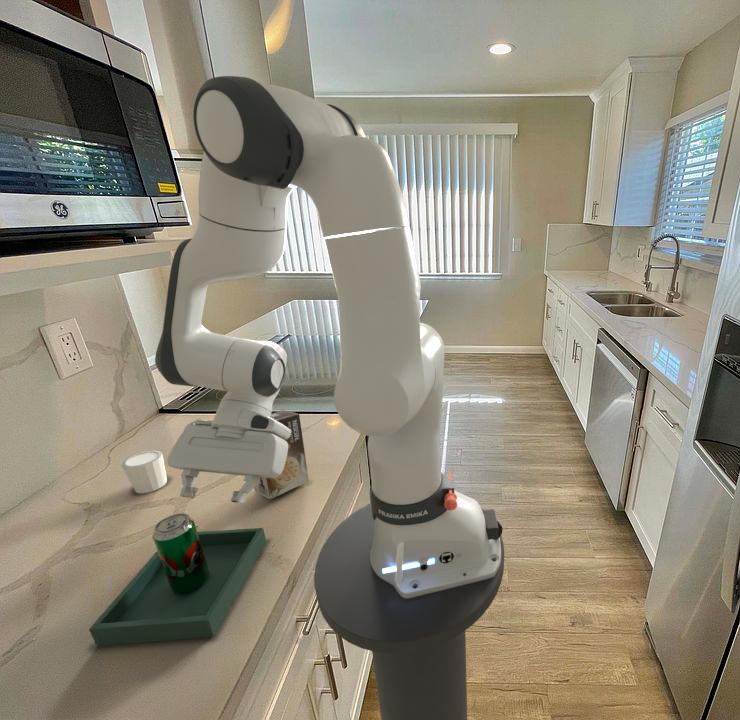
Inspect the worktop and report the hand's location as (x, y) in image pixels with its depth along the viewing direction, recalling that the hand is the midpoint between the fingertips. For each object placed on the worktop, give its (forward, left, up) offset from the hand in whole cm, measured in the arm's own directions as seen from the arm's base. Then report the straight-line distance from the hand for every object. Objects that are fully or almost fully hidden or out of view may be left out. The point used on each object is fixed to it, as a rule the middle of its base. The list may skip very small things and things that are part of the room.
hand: (211, 500), depth 68 cm
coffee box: (-4, -16, -10) cm, 19 cm away
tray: (+1, +8, -10) cm, 13 cm away
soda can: (+1, +8, -10) cm, 13 cm away
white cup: (+26, -20, -10) cm, 34 cm away
